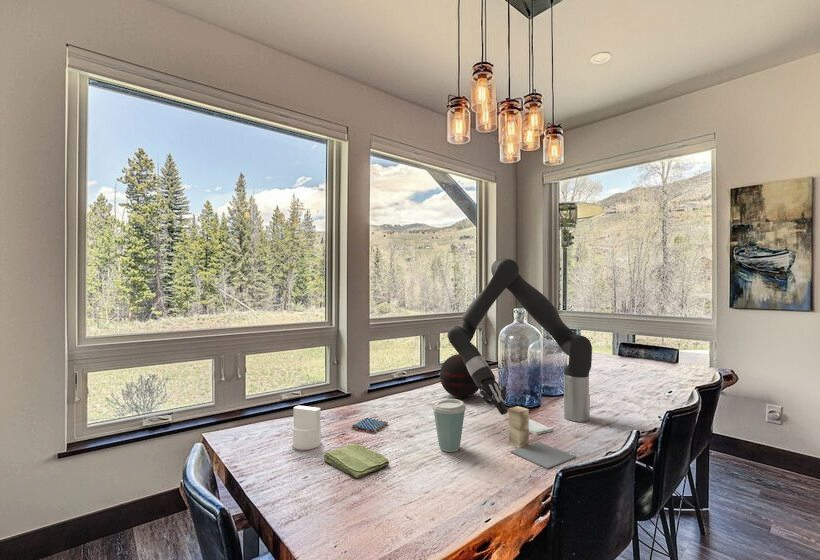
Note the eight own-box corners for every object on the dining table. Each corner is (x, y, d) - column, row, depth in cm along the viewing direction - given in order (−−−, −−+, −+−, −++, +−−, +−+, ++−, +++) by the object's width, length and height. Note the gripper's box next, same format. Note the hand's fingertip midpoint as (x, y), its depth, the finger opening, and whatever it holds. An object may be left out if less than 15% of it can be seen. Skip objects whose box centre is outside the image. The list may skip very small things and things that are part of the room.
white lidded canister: (325, 440, 140) (325, 405, 140) (311, 451, 132) (311, 413, 132) (302, 437, 143) (303, 402, 143) (287, 447, 135) (287, 410, 134)
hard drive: (512, 421, 158) (536, 432, 147) (528, 418, 161) (552, 428, 150) (512, 425, 158) (536, 436, 147) (528, 422, 161) (552, 432, 150)
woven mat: (349, 430, 151) (349, 425, 151) (366, 422, 160) (366, 416, 160) (373, 436, 146) (374, 430, 146) (389, 426, 156) (389, 421, 156)
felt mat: (538, 442, 139) (538, 441, 139) (575, 457, 128) (575, 456, 128) (510, 452, 131) (510, 451, 131) (547, 469, 120) (547, 467, 120)
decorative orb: (463, 406, 180) (463, 360, 180) (430, 396, 195) (431, 353, 195) (491, 397, 193) (491, 354, 193) (459, 388, 208) (459, 349, 208)
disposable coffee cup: (443, 457, 127) (444, 409, 127) (426, 445, 137) (426, 399, 137) (471, 451, 132) (472, 404, 132) (453, 439, 142) (453, 395, 142)
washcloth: (357, 482, 112) (357, 470, 112) (321, 461, 125) (321, 451, 125) (392, 467, 122) (392, 456, 122) (355, 449, 134) (355, 439, 134)
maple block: (517, 441, 141) (518, 406, 141) (528, 445, 137) (528, 409, 137) (508, 444, 138) (509, 408, 138) (519, 448, 134) (519, 411, 134)
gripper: (471, 367, 147) (497, 411, 137) (497, 363, 154) (523, 404, 144) (461, 379, 151) (485, 422, 141) (487, 374, 159) (512, 415, 149)
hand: (505, 413), depth 143 cm, fingers closed
